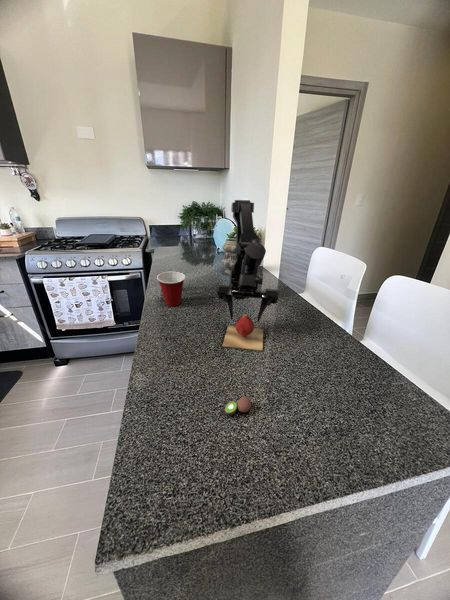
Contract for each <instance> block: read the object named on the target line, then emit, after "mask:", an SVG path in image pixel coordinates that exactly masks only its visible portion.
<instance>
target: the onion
mask: <svg viewBox="0 0 450 600" xmlns="http://www.w3.org/2000/svg"><path fill="white" fill-rule="evenodd" d="M235 326H236V327H235V328H236V331H237V332H238V333H239V334H240V335H242V336H243V337H246V336H248V335H249V334H251V333H252V332H253V330H254V328H255V324H254V321H253V320H252V318H251V317H250V316H248V314H243V315H242V316H241V317H239V318H238V319H237V320H236V322H235Z"/></svg>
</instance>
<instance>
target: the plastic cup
mask: <svg viewBox="0 0 450 600" xmlns="http://www.w3.org/2000/svg"><path fill="white" fill-rule="evenodd" d="M185 280H186V275H185V274H184V273H182V272H180V271H164V272H161V273H159V274H157V276H156V281H158V283H159V286H160V290H161V293H162V297H163V299H164V303H165V305H166V306H167V307H171V308H172V307H179V306H180V305H181V302H182V296H183V295H182V294H183V288H184V282H185Z"/></svg>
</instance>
